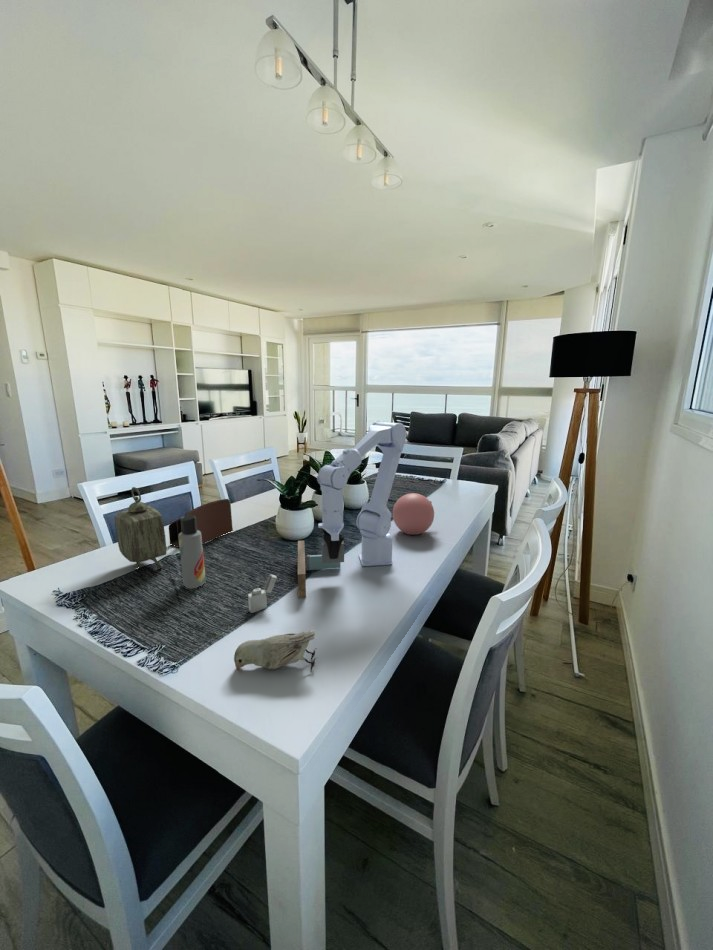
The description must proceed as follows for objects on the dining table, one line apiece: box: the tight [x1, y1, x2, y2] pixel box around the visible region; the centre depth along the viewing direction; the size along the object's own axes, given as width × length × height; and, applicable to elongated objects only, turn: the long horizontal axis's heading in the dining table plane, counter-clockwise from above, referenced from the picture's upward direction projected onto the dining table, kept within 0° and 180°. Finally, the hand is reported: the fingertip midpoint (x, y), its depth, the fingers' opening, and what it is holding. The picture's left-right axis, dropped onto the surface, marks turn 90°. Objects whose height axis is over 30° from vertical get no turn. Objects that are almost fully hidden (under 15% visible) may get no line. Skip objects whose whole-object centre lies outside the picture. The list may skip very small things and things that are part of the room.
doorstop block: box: [321, 538, 345, 563], centre depth 107 cm, size 6×4×6 cm, turn 98°
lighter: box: [247, 573, 278, 614], centre depth 95 cm, size 7×2×8 cm, turn 125°
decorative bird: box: [233, 630, 318, 673], centre depth 75 cm, size 5×16×8 cm, turn 95°
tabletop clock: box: [114, 486, 167, 569], centre depth 113 cm, size 14×9×25 cm, turn 47°
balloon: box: [392, 492, 435, 536], centre depth 144 cm, size 15×20×15 cm
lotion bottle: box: [178, 515, 206, 589], centre depth 104 cm, size 6×6×20 cm
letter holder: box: [168, 498, 234, 548], centre depth 137 cm, size 10×20×14 cm, turn 153°
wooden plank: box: [297, 540, 307, 599], centre depth 110 cm, size 2×22×7 cm, turn 8°
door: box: [305, 554, 342, 571], centre depth 115 cm, size 10×2×4 cm, turn 98°
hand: (333, 554), depth 108 cm, fingers closed on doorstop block, 4 cm apart
